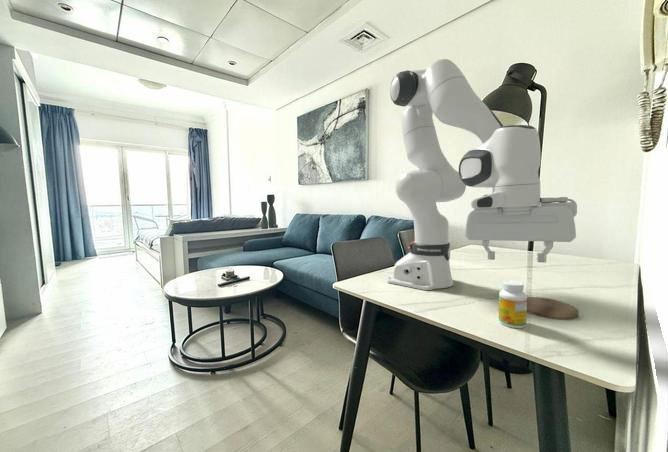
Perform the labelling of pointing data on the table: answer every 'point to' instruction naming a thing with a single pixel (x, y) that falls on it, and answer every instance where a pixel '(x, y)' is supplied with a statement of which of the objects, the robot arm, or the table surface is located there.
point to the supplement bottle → (512, 304)
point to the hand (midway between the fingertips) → (515, 260)
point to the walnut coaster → (551, 308)
